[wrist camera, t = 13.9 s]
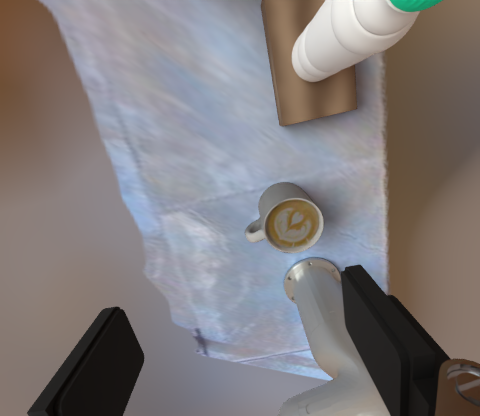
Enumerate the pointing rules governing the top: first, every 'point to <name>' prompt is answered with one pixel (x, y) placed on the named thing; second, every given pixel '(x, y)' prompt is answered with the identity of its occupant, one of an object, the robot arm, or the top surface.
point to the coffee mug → (286, 219)
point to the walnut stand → (284, 76)
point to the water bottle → (351, 34)
